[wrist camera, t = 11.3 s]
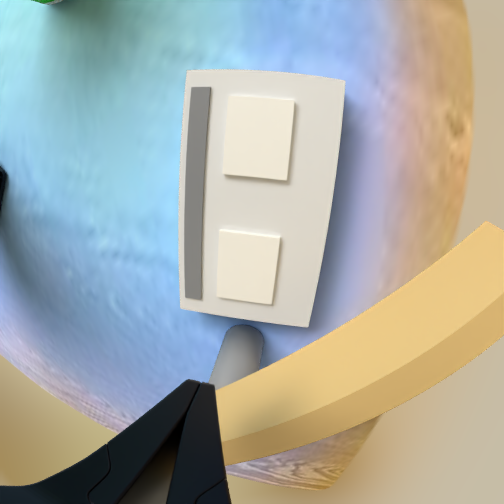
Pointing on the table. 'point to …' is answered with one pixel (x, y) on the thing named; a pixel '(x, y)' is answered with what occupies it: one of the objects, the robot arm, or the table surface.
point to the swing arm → (363, 356)
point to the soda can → (48, 1)
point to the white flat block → (256, 191)
